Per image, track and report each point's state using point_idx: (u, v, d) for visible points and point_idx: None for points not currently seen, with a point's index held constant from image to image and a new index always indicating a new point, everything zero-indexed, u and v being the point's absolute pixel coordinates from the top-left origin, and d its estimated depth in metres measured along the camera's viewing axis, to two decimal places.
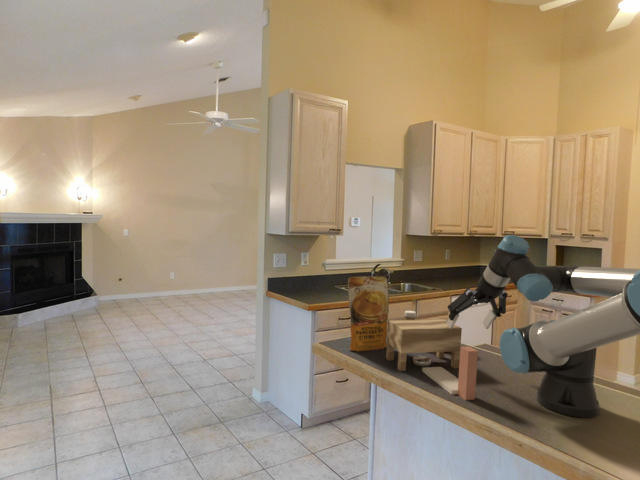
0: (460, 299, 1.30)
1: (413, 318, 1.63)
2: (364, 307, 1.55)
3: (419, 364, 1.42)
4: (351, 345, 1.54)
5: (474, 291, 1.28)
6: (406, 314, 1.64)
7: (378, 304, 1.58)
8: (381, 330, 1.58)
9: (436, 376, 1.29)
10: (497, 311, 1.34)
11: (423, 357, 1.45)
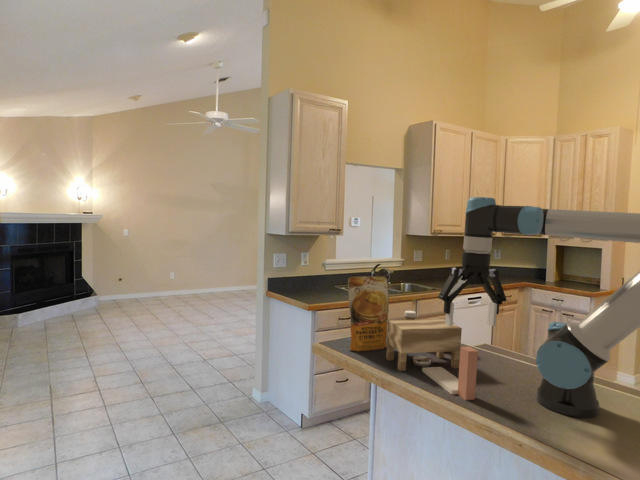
0: (448, 282, 1.15)
1: (413, 318, 1.63)
2: (364, 307, 1.55)
3: (419, 364, 1.42)
4: (351, 345, 1.54)
5: (460, 269, 1.16)
6: (406, 314, 1.64)
7: (378, 304, 1.58)
8: (381, 330, 1.58)
9: (436, 376, 1.29)
10: (496, 297, 1.18)
11: (423, 357, 1.45)
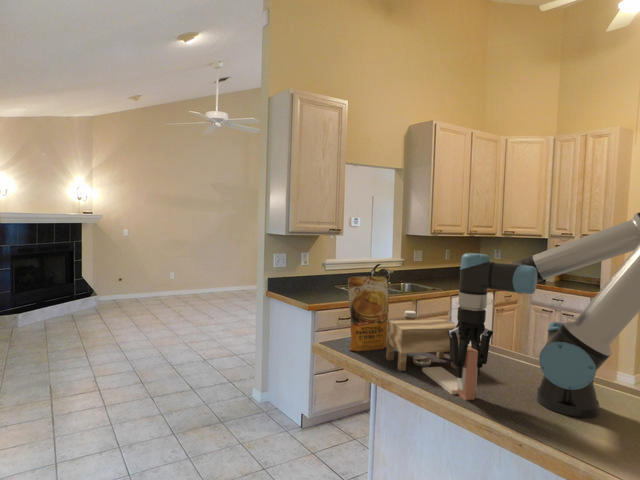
0: (452, 346, 1.16)
1: (413, 318, 1.63)
2: (364, 307, 1.55)
3: (419, 364, 1.42)
4: (351, 345, 1.54)
5: (455, 329, 1.16)
6: (406, 314, 1.64)
7: (378, 304, 1.58)
8: (381, 330, 1.58)
9: (436, 376, 1.29)
10: (479, 359, 1.17)
11: (423, 357, 1.45)
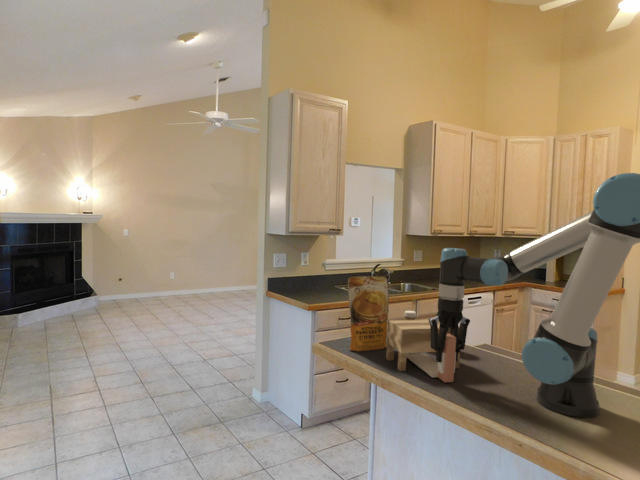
0: (432, 333, 1.26)
1: (413, 318, 1.63)
2: (364, 307, 1.55)
3: None
4: (351, 345, 1.54)
5: (436, 317, 1.26)
6: (406, 314, 1.64)
7: (378, 304, 1.58)
8: (381, 330, 1.58)
9: (419, 362, 1.40)
10: (457, 345, 1.28)
11: None
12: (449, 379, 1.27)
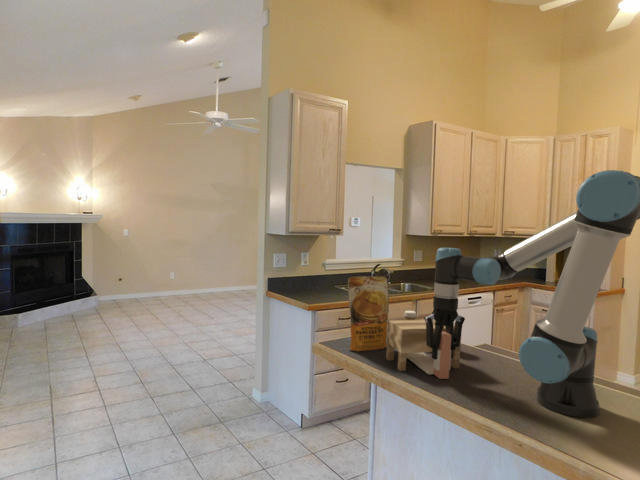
0: (428, 331, 1.29)
1: (413, 318, 1.63)
2: (364, 307, 1.55)
3: None
4: (351, 345, 1.54)
5: (431, 315, 1.29)
6: (406, 314, 1.64)
7: (378, 304, 1.58)
8: (381, 330, 1.58)
9: (416, 359, 1.43)
10: (452, 342, 1.30)
11: None
12: (444, 376, 1.30)
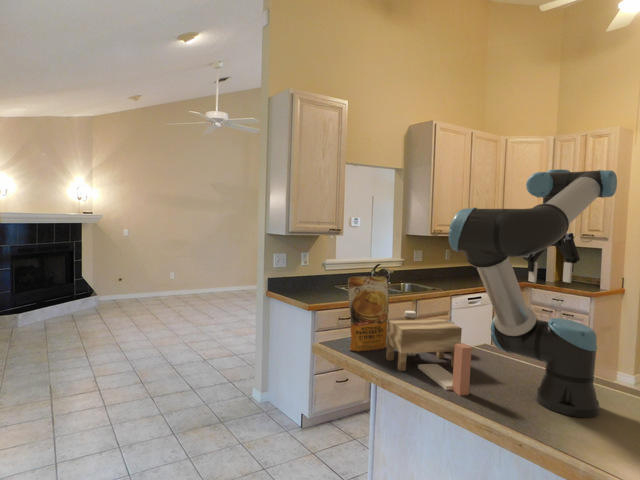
0: None
1: (413, 318, 1.63)
2: (364, 307, 1.55)
3: (407, 355, 1.51)
4: (351, 345, 1.54)
5: None
6: (406, 314, 1.64)
7: (378, 304, 1.58)
8: (381, 330, 1.58)
9: (431, 372, 1.32)
10: (571, 257, 1.35)
11: None
12: (464, 392, 1.19)
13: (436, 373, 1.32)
